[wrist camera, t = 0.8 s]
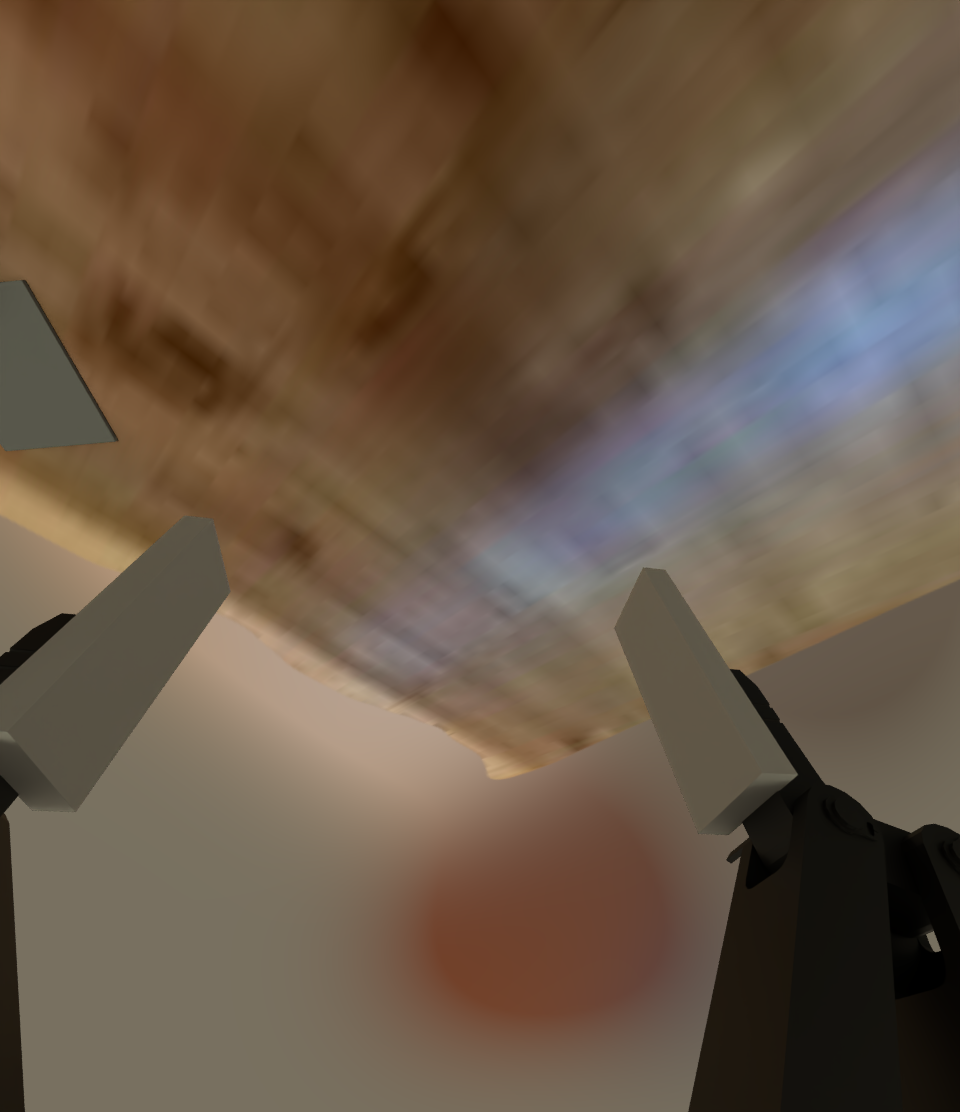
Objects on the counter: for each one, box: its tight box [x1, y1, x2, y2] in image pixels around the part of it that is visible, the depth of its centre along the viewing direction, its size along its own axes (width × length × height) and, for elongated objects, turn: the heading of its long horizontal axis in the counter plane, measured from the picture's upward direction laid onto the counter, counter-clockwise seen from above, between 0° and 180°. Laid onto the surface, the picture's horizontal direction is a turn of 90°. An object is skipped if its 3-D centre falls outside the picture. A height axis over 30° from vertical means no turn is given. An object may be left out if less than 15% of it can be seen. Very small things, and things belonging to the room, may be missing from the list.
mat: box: [0, 280, 118, 451], centre depth 34 cm, size 12×10×1 cm
